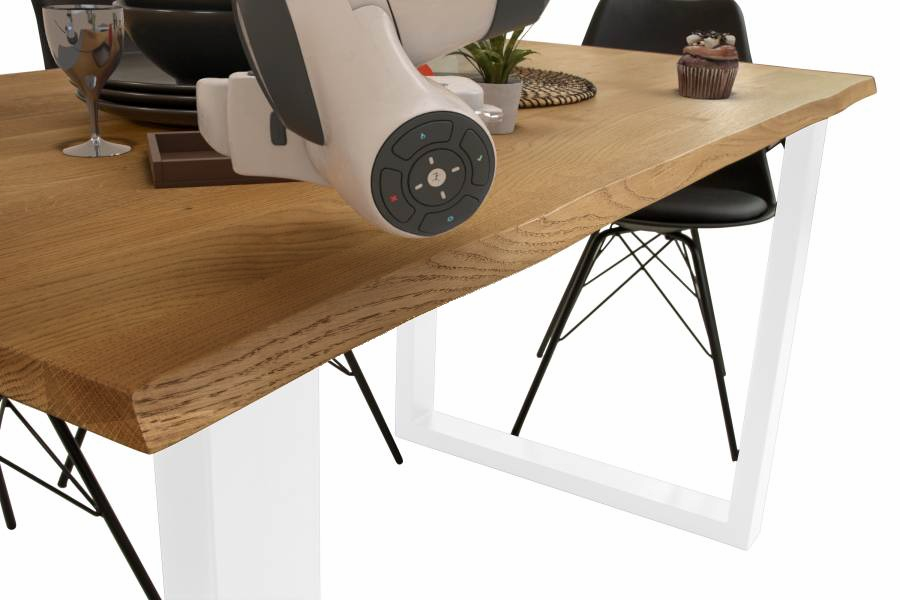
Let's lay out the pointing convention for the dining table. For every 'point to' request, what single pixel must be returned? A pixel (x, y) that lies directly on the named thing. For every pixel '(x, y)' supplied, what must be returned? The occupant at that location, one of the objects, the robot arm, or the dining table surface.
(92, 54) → the wine glass
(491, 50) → the house plant
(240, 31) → the robot arm
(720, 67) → the cupcake
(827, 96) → the dining table surface
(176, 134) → the tray
